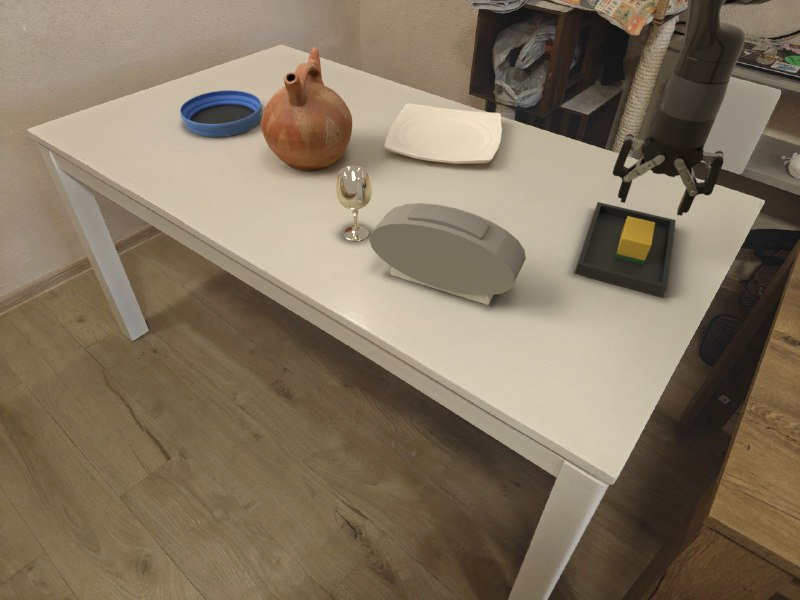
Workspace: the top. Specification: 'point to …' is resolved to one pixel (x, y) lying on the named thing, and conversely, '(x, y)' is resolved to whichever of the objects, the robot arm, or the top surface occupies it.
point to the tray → (607, 268)
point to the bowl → (221, 113)
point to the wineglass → (354, 197)
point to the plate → (445, 134)
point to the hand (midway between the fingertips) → (651, 206)
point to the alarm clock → (448, 250)
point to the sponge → (635, 240)
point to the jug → (307, 120)
